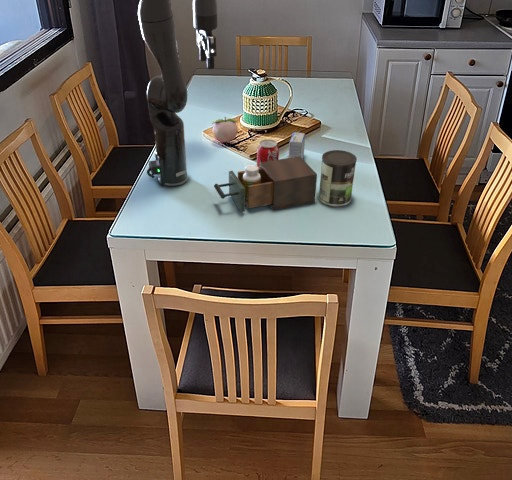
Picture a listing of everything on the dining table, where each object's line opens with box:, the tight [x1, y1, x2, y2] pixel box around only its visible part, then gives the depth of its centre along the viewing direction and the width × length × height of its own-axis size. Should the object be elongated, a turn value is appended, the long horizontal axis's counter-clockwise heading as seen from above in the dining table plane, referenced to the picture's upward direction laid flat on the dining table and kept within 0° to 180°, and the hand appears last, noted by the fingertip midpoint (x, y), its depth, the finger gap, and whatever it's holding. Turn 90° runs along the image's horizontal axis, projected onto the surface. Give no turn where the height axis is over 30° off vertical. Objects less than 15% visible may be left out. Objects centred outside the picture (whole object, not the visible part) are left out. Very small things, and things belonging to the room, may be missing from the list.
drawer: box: [213, 168, 273, 213], centre depth 173 cm, size 18×12×8 cm, turn 110°
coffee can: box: [318, 149, 358, 207], centre depth 175 cm, size 10×10×14 cm
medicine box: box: [288, 132, 306, 160], centre depth 197 cm, size 8×4×9 cm, turn 168°
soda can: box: [256, 139, 280, 168], centre depth 186 cm, size 7×7×12 cm
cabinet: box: [259, 156, 318, 211], centre depth 177 cm, size 14×13×10 cm
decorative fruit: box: [211, 116, 239, 144], centre depth 207 cm, size 9×8×10 cm
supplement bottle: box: [243, 164, 261, 200], centre depth 173 cm, size 5×5×10 cm
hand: (206, 64), depth 188 cm, fingers open, 8 cm apart
